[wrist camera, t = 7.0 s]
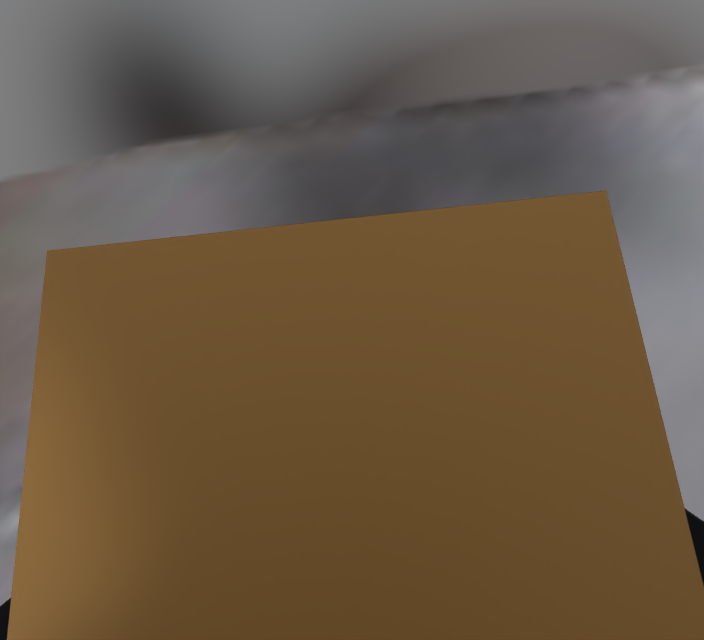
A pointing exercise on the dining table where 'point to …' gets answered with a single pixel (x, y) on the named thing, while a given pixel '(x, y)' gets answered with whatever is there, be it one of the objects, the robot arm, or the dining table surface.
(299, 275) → the block
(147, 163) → the dining table surface
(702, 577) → the robot arm
